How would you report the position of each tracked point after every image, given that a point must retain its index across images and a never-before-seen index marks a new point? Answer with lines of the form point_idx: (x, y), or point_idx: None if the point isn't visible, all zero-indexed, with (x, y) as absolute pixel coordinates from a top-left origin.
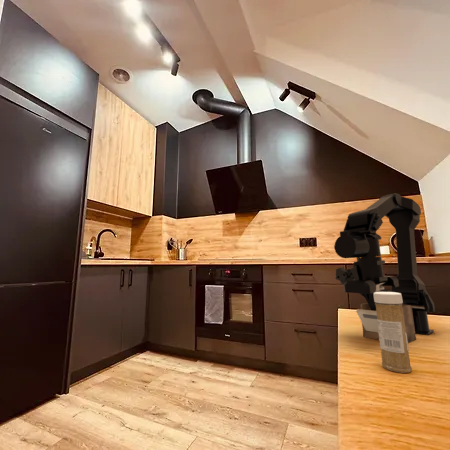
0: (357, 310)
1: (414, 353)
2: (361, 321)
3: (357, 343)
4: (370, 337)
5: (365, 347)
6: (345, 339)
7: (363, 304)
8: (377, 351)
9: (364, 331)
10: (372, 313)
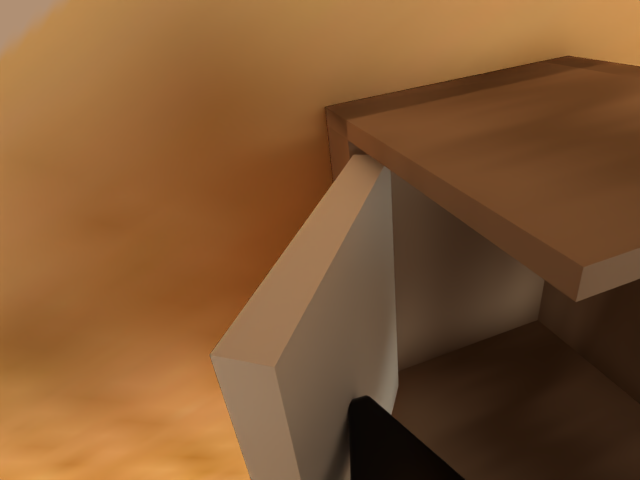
0: (239, 370)
1: (223, 476)
2: (309, 219)
3: (46, 248)
4: (334, 171)
5: (14, 351)
6: (38, 89)
7: (625, 278)
8: (23, 433)
9: (345, 137)
10: None
